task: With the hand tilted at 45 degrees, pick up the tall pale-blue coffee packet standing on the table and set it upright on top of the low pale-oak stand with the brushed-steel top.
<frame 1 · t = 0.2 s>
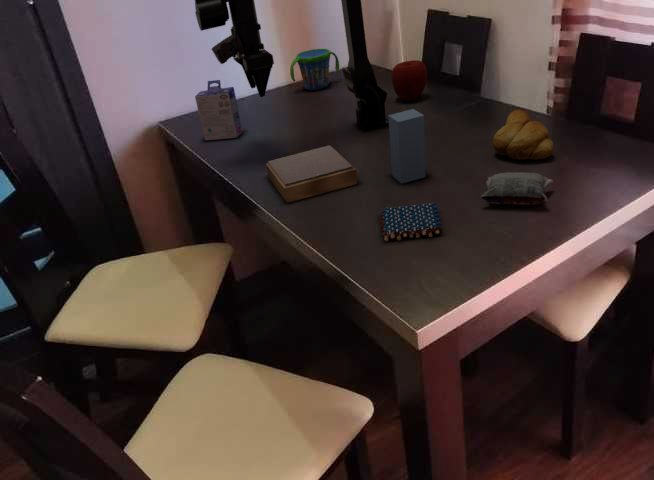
hand: (257, 92, 149), 15 cm above the table, tool pointing down, fingers open, 9 cm apart
ink cartridge box: (224, 136, 173), on the table
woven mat: (410, 227, 116), on the table
packet: (408, 176, 133), on the table
packaged food: (515, 199, 117), on the table
snack cup: (317, 88, 197), on the table
apple: (410, 99, 173), on the table
stand: (311, 180, 139), on the table
bread roll: (522, 156, 132), on the table
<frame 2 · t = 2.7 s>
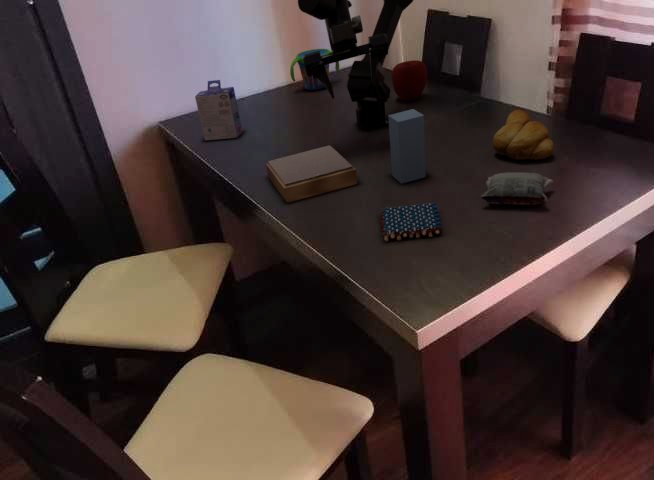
hand: (353, 92, 138), 14 cm above the table, tool tilted 40°, fingers open, 9 cm apart
nothing on the table moved.
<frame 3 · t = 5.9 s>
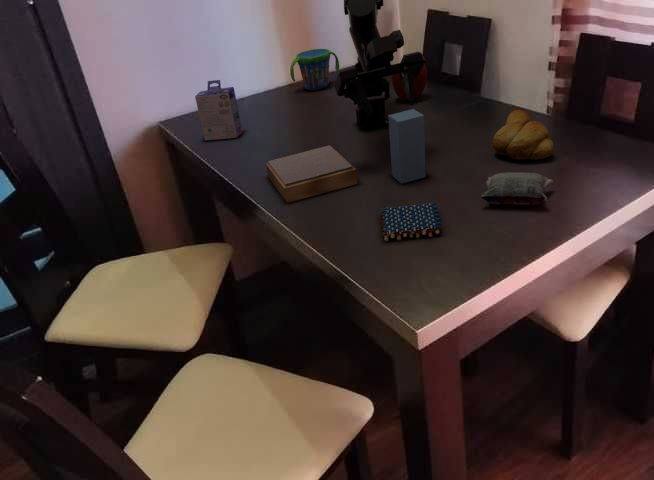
hand: (392, 109, 131), 12 cm above the table, tool tilted 45°, fingers open, 9 cm apart
nothing on the table moved.
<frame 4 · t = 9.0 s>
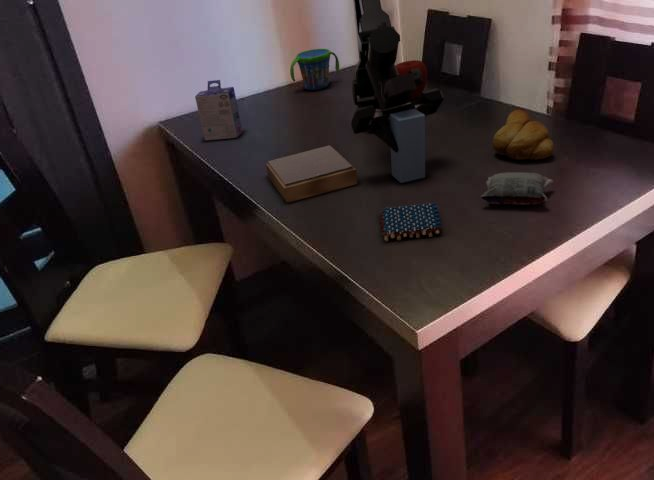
hand: (410, 148, 128), 7 cm above the table, tool tilted 45°, fingers closed on packet, 5 cm apart
packet: (408, 176, 133), on the table, touching gripper
everything else where it was.
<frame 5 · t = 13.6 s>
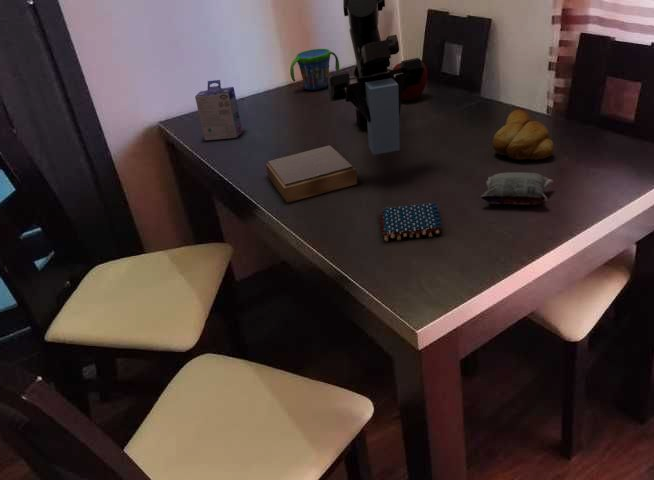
hand: (384, 118, 124), 13 cm above the table, tool tilted 45°, fingers closed on packet, 5 cm apart
packet: (383, 148, 129), point 7 cm above the table, touching gripper
everything else where it was.
when the fingers open (11 cm above the table, at t = 18.2 s): packet stays where it is, resting on stand.
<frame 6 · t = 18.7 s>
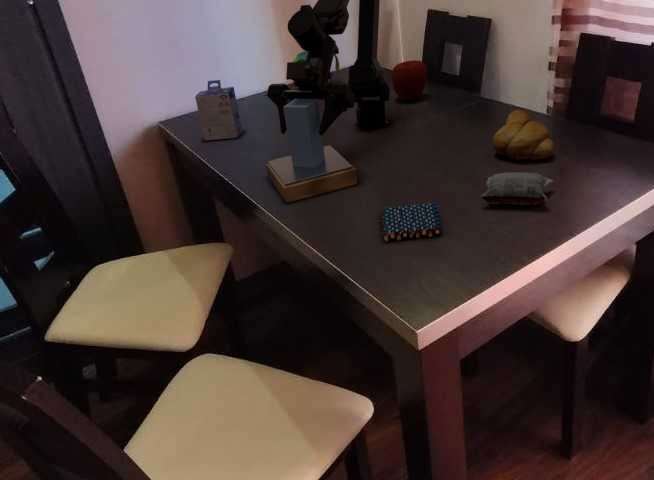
hand: (301, 134, 132), 11 cm above the table, tool tilted 45°, fingers open, 9 cm apart
packet: (308, 163, 137), point 4 cm above the table, touching stand
everything else where it was.
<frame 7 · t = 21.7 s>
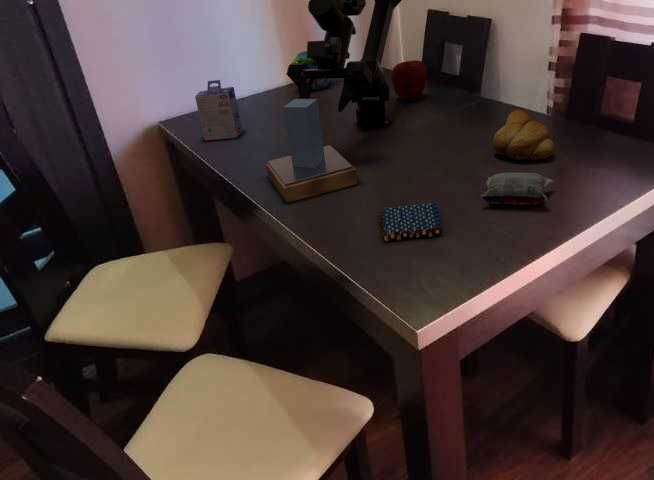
hand: (320, 111, 137), 13 cm above the table, tool tilted 45°, fingers open, 9 cm apart
nothing on the table moved.
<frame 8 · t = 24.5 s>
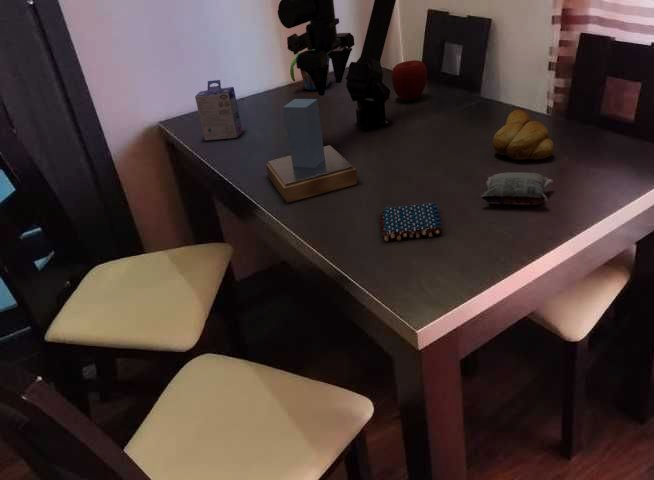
hand: (330, 89, 148), 13 cm above the table, tool pointing down, fingers open, 9 cm apart
nothing on the table moved.
at the end: packet inside the target area on the stand (0.3 cm from its centre), point 4.0 cm above the stand's base; packet tilted 0°; the gripper is holding nothing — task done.
